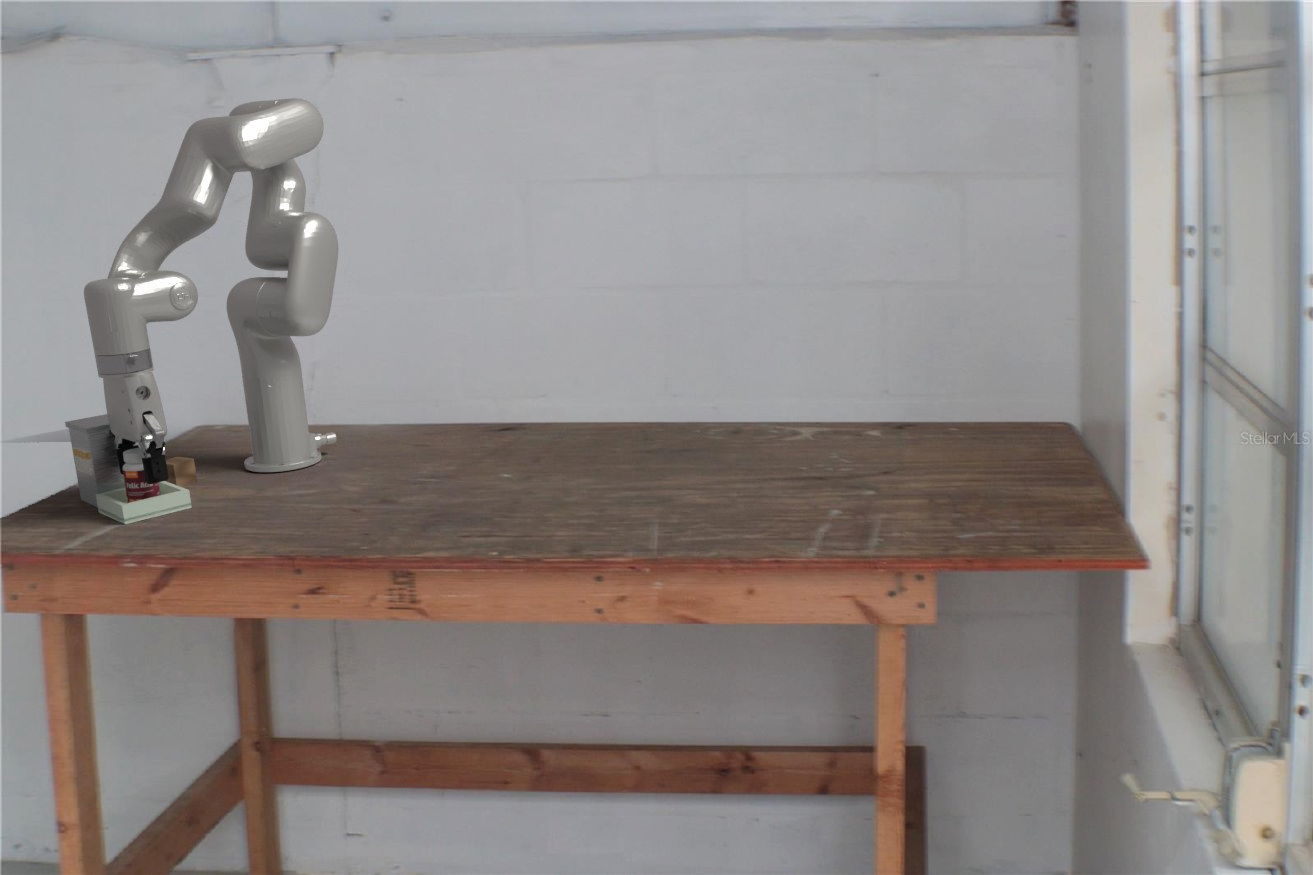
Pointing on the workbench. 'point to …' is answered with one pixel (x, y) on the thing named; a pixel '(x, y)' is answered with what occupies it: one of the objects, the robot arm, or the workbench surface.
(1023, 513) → the workbench surface
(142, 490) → the pill bottle
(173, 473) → the walnut block
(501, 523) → the workbench surface
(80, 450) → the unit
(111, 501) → the tray
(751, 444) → the workbench surface
